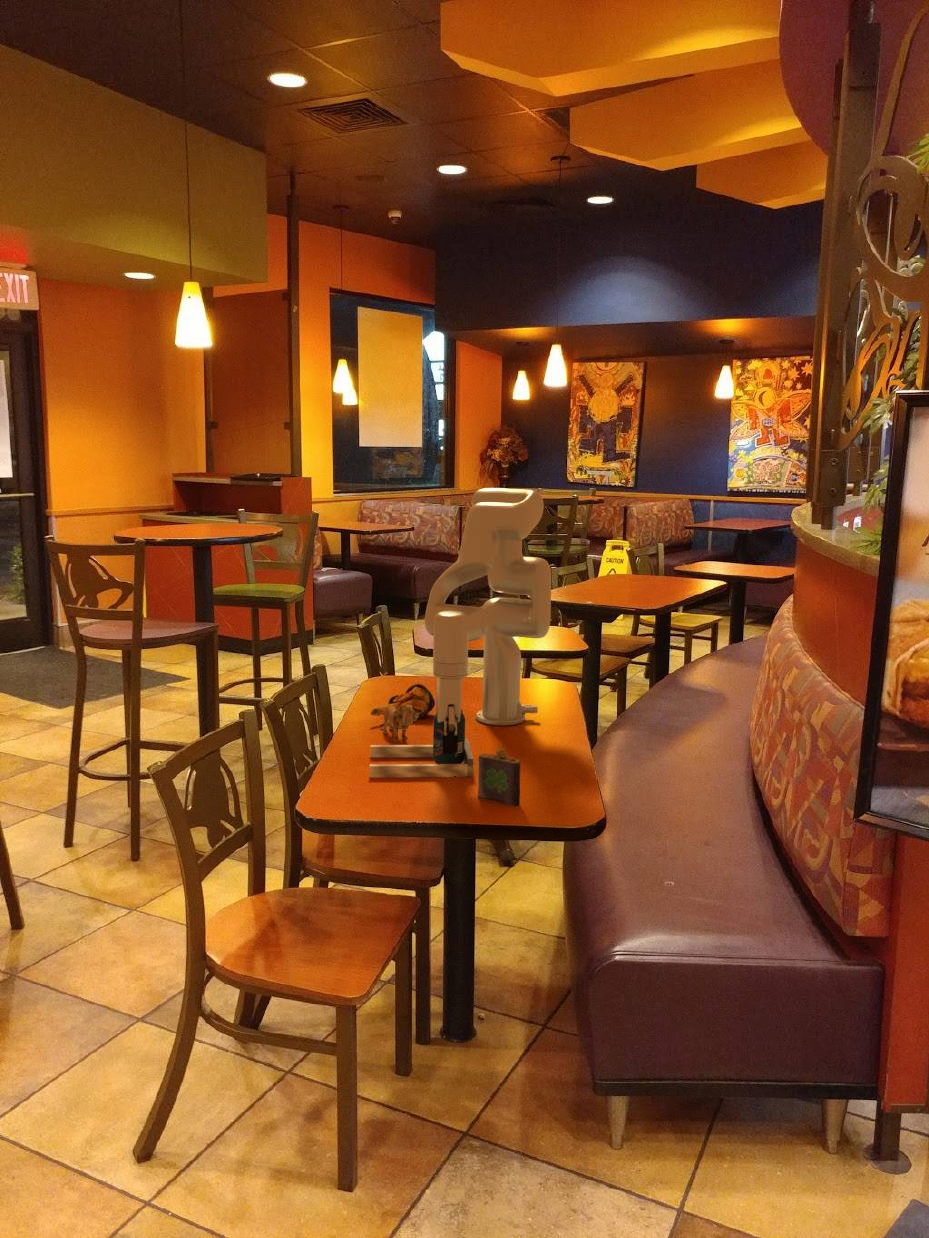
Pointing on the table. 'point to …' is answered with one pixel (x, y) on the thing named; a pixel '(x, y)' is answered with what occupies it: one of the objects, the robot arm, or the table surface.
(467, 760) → the guide track
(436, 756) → the soda can
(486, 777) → the flask
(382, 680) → the table surface
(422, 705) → the fried shrimp in bowl
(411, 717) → the lion figurine
